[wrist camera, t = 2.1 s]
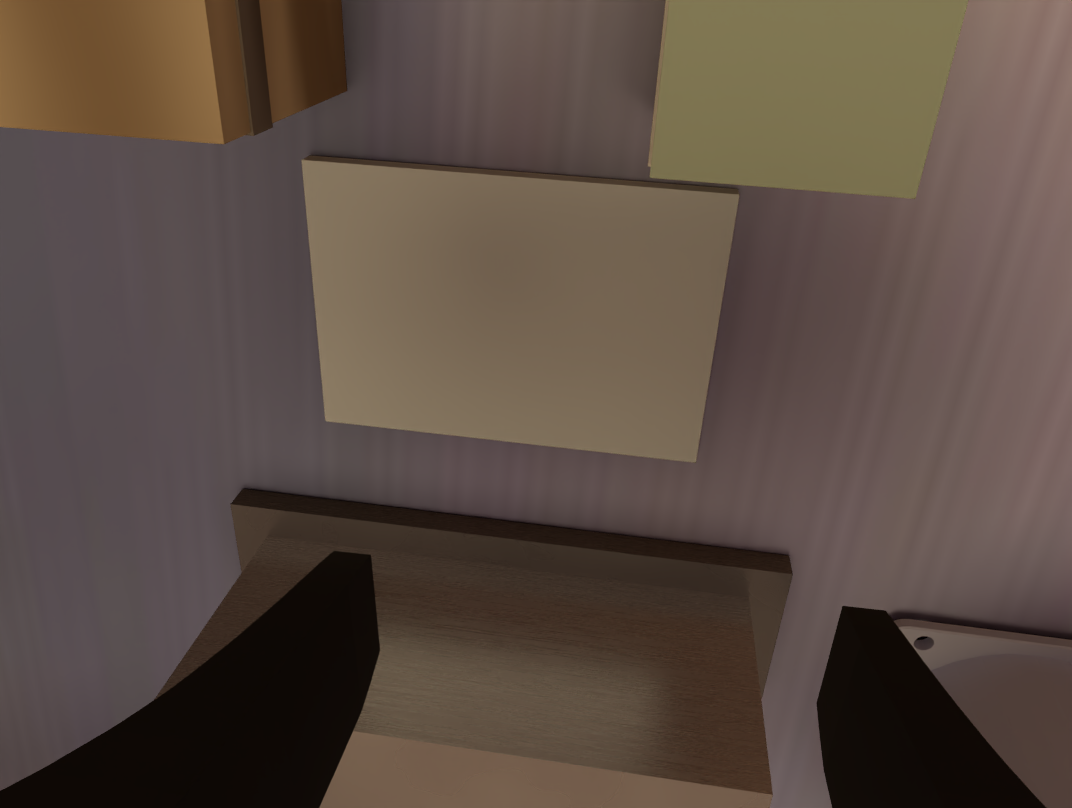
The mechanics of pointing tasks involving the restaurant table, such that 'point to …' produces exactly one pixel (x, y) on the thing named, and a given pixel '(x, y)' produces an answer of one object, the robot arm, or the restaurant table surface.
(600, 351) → the pad
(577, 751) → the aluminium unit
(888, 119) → the sage block
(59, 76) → the oak block
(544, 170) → the restaurant table surface
